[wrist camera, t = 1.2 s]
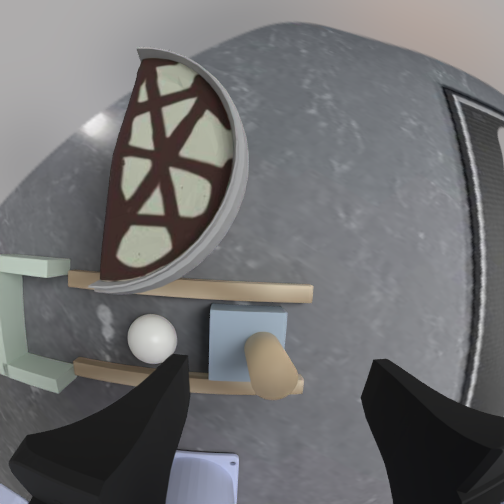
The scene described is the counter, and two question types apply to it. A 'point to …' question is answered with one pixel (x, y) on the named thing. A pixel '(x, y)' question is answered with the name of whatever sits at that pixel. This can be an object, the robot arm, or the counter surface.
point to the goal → (13, 324)
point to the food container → (171, 175)
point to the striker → (251, 348)
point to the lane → (191, 290)
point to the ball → (152, 338)
